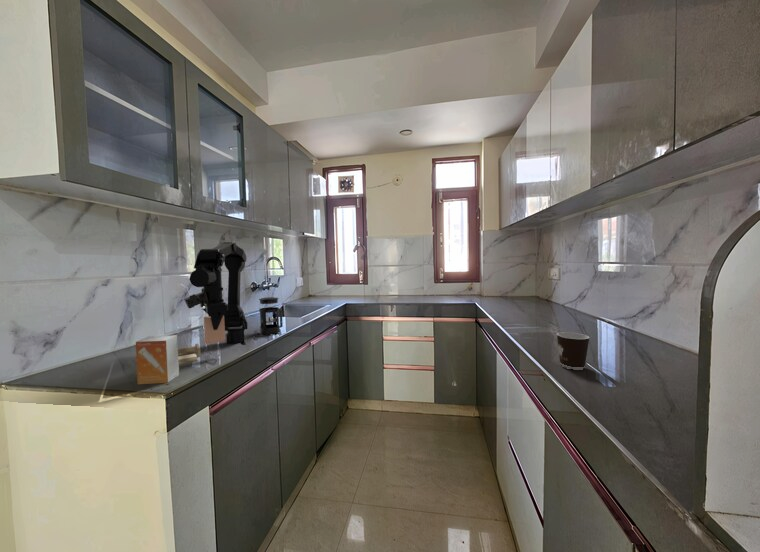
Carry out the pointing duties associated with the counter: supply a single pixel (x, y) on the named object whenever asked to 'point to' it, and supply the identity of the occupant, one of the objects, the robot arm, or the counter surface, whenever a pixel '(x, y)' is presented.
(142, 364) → the small box
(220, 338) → the salmon pink block
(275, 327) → the french press
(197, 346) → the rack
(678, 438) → the counter surface
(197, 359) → the offcut bottom
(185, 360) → the offcut top
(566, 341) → the coffee mug
